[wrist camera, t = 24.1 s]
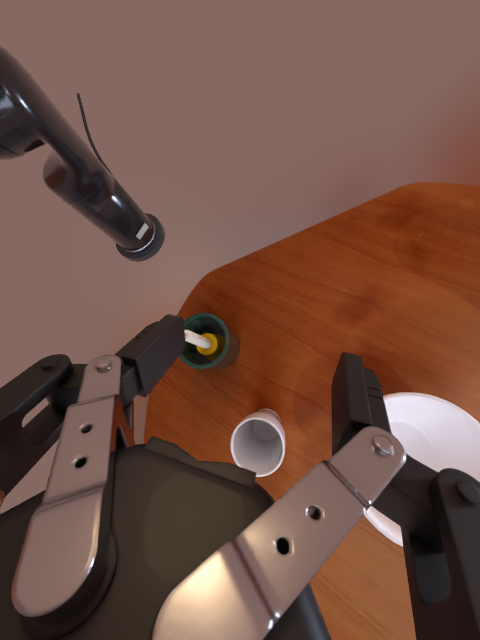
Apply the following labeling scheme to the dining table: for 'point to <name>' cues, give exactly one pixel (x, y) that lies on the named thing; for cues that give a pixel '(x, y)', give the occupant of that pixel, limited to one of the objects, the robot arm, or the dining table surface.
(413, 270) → the dining table surface
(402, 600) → the dining table surface
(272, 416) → the drinking glass
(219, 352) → the candle
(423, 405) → the bowl
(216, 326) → the cup
